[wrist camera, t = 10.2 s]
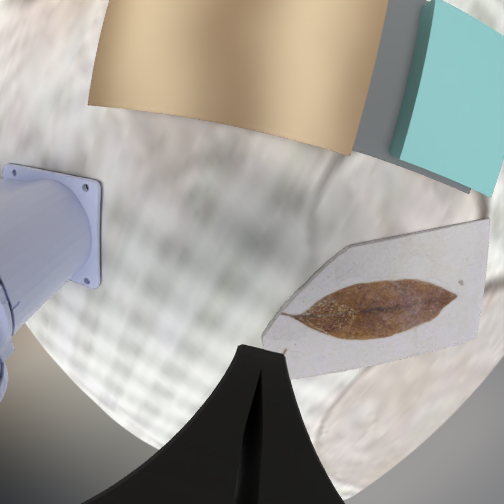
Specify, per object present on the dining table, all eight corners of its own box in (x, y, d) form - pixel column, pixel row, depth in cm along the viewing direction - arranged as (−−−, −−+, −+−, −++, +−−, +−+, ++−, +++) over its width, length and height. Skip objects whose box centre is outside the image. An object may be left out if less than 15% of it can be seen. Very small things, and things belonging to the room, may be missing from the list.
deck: (126, 102, 16) (87, 105, 13) (164, -49, 12) (136, -75, 8) (337, 144, 16) (350, 156, 12) (376, -18, 12) (396, -45, 8)
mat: (346, 147, 16) (347, 148, 16) (385, -15, 12) (386, -16, 11) (466, 192, 16) (469, 194, 16) (502, 46, 11) (505, 45, 11)
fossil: (274, 382, 23) (237, 272, 19) (275, 370, 24) (240, 262, 20) (475, 339, 20) (494, 222, 16) (470, 329, 21) (485, 214, 17)
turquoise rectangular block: (490, 197, 14) (474, 187, 15) (525, 51, 10) (506, 53, 11) (399, 159, 14) (388, 153, 16) (435, -3, 10) (422, 6, 12)
